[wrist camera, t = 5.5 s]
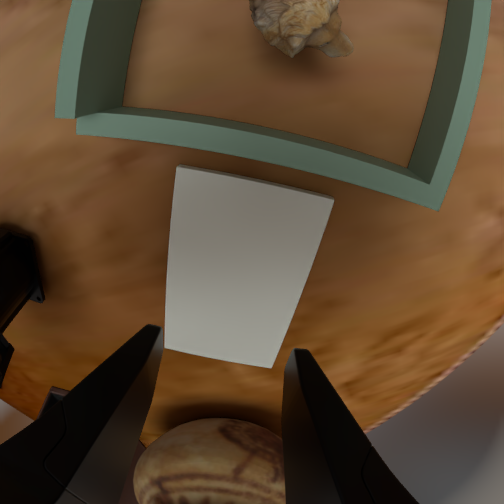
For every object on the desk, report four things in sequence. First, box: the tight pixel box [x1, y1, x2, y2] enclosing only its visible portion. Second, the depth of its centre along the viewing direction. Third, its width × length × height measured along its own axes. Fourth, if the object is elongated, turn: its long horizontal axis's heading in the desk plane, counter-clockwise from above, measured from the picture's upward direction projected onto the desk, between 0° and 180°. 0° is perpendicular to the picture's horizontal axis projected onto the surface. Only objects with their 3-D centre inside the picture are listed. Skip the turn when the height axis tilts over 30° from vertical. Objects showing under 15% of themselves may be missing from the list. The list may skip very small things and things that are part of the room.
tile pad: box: [165, 164, 334, 368], centre depth 21 cm, size 15×9×1 cm, turn 168°
